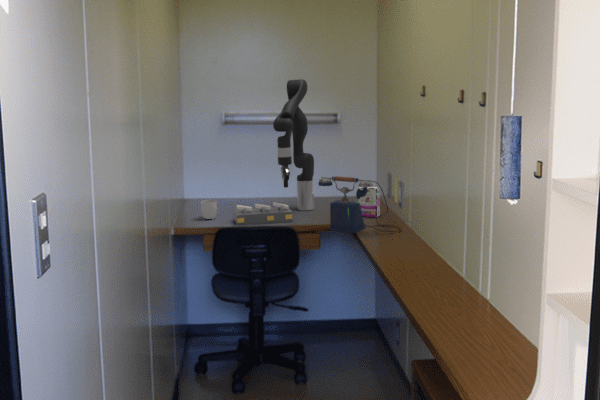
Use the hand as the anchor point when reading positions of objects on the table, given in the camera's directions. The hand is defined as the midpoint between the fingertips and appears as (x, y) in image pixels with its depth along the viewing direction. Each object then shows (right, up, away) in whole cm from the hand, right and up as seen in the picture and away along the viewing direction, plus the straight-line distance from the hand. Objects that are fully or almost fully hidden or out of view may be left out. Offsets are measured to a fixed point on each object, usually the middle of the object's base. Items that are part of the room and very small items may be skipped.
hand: (285, 187), depth 346 cm
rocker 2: (-3, -10, +1) cm, 11 cm away
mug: (-43, -17, +11) cm, 48 cm away
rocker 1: (-22, -12, -3) cm, 25 cm away
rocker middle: (-13, -11, -1) cm, 17 cm away
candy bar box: (+46, -16, +5) cm, 49 cm away
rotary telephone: (+38, -22, -25) cm, 51 cm away
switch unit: (-13, -18, +1) cm, 22 cm away
